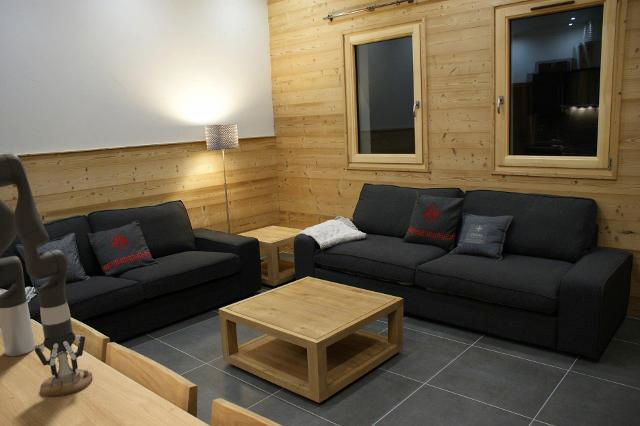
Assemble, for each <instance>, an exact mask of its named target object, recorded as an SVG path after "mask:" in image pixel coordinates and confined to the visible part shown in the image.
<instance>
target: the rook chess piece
mask: <svg viewBox="0 0 640 426" xmlns="http://www.w3.org/2000/svg"><path fill="white" fill-rule="evenodd" d="M68 355H69V353H68V351H65V352H60V353H57V354H56V359H57V362H58V370H57V372H58V373H57V375H58V377H57V378H58V379H65V378H69V377H71V376H73V374H74V373H73V370H72V369H71V368H72V366H70V364H69V358H68Z"/></svg>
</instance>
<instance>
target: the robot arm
mask: <svg viewBox="0 0 640 426" xmlns="http://www.w3.org/2000/svg"><path fill="white" fill-rule="evenodd" d="M12 185H15V186H16V190H17V194H18V195H17V202H16V205H15V209H13V208H12V207H11V206H10V205H9V204H7V203H6V202H5V201H3V200H2V199H1V198H0V287H4V286H9V285H11V286H10V287H9V288H8V289H7V290H6V291H5V292H3V293H1V294H0V333H1V337H2V344H3V349H4V354H5V356H6V357H7V356H8V357H16V356H17V357H18V356H21V355H25V354H28V353H29V352H32V351H35V354H36V355H37V357H38V359H39V360H40V362H41V364H42V366H50V372H51V376H52V375H55V377H57V376H58V375H57V372H58V370H57V364H56V359H57V357H56V355H57V353H60V352H65V351H66V352H67V353H68V355H69V356H70V362H71V368H72V369H73V372H75V371H76V369H79V367H78V358H79V357H81V356H83V353H84V347H85V341H86V337H85V334H84V333H81V334H79V335H76V334H75V333H74V332H73V331H74V330H73V324H72V321H71V319H72V318H71V313H70V307H69V305H68V300H67V295H66V293H67V292H66V280H67V273H68V264H69V263H68V258H67V256H66V254H65V253H64V252H63V251H62V250H60V249H52V250H48V251H43V252H40V253H39V252H38V249H40V248H42V247H44V246H45V245H47V244H48V243H49V241H50V236H49V234H48V232H47V230H46V227H45V225H44V223H43V221H42V219H41V217H40V214H39V212H38V209H37V206H36V202H35V199H34V195H33V192H32V190H31V189H32V188H31V185H30V182H29V179H28V176H27V173H26V170H25V167H24V164H23V161H21V159H20V157H19V156H18V155H17V154H15V153H10V152H9V153H3V154H0V188H3V187H8V186H12ZM16 236H18V237H19V239H20V242H21V245H22V248H23V249H22V250H23V254H24V260H25V261H24V262H25V263H24V264H25V270H26V273H27V274H28V276H29V277H31V279H33V280H41V279H45V278H48V277H50V278H49V280H48V281H47V282H45V283H43V284H42V285H40V286H39V287H38V289H37V296H38V302H39V307H40V309H39V310H40V322H41V326H42V331H43V336H44V337H43V338H44V339H43V342H42V343H41V344H38V345H36V343H35V337H34V331H33V325H32V321H31V316H30V315H31V314H30V309H29V304H28V298H27V293H26V286H25V278H24V277H25V276H24V269H23V265H22V261H21V259H20V257H18V256H16V255H12V256H8V257H2V255H3V254H4V252H6V250H7V249H8V248H9V247H10V246H11V245H12V243H13V242H14V240H15V239H16ZM1 257H2V258H1ZM75 340H76V342H77V344H78V345H77V349H76V351H75V352H74V349H73V348H72V345H73V344H74V342H75ZM44 348H46V349H48V350H49V351H50V353H49V354H50V355H49V358H46V356H45V354H44V353H43V352H45V351H44V350H45V349H44Z"/></svg>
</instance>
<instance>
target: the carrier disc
mask: <svg viewBox="0 0 640 426" xmlns="http://www.w3.org/2000/svg"><path fill="white" fill-rule="evenodd" d="M71 369H72V367H71ZM72 370H73V369H72ZM57 373H58V371H57ZM73 373H74V374H73V376H71V377H69V378H65V379H58V378H57V377H58V376H57V377H55V375H52V374H51V376H50V377H48V378H46V379H45V380H44V381H43V382H42V383H41V384H40V386H39V387H40V388H39V389H40V393H41V394H42V395H43V396H45V397H48V398H49V397H50V398H52V397H54V398H55V397H63V396H67V395H72V394H74V393H77V392H80V391H81V390H83V389H85V388H87V387H88V386H89V385H91V383H92V382H93V374H92V372H91V371H90V370H88V369H81V368H80V369H79V368H77V369H76V371H75V372H73Z"/></svg>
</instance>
